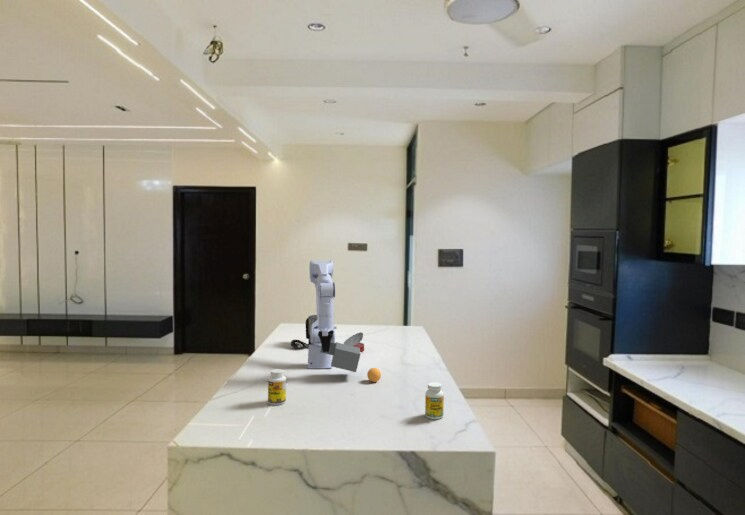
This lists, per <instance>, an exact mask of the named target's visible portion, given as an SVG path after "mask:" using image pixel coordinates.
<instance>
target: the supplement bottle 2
mask: <svg viewBox="0 0 745 515" xmlns="http://www.w3.org/2000/svg"><path fill="white" fill-rule="evenodd" d="M424 395H425V396H424V397H425V401H424V402H425V403H424V404H425V406H424V407H425V411H424V412H425V414H424V415H425V417H427V419H430V420H440V418H441V419H443V418H444V399H445V398H444V396H445V395H444V392H443V391H442V383H441V382H435V381H434V382H428V383H427V390H426V391H425V394H424Z"/></svg>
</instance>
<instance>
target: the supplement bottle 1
mask: <svg viewBox="0 0 745 515" xmlns="http://www.w3.org/2000/svg"><path fill="white" fill-rule="evenodd" d="M286 401H287V377H286V376H285V375H284V369H280V368H274V369H271V370H270V376H269V377H268V378H267V402H268V404H269V405H271V406H279V405H283V404H285V403H286Z"/></svg>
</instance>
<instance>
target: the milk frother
mask: <svg viewBox="0 0 745 515" xmlns="http://www.w3.org/2000/svg"><path fill="white" fill-rule="evenodd" d="M315 321H317V314H313V315H308V316H307V318H306V320H305V339H306V340H308V341H307V342H308V344H307V343H306V342H304V341H302V340H299V339H292V340H291V341H290V347H292V348H293V349H295V350H302V349H305V347H306V346H307V348H309V345H312V343H311V342H310V330H311V325H312V324H313V323H314V322H315ZM300 345H302V346H300Z"/></svg>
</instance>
